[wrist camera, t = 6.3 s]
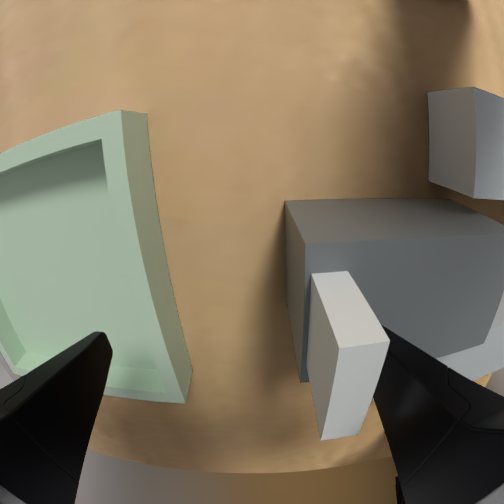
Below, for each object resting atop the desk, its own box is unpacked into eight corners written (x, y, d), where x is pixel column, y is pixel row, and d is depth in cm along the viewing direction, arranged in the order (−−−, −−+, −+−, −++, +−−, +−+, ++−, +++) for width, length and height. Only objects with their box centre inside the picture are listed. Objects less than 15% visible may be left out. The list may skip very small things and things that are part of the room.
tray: (192, 370, 18) (185, 403, 15) (29, 352, 19) (13, 373, 16) (146, 113, 12) (120, 109, 9) (-30, 175, 13) (-57, 185, 10)
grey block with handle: (434, 288, 16) (517, 386, 7) (286, 304, 16) (311, 454, 8) (448, 199, 14) (571, 266, 5) (284, 200, 14) (334, 310, 5)
